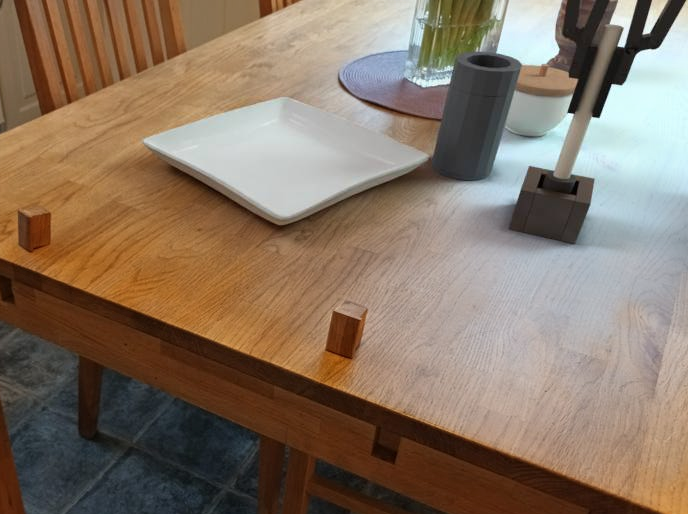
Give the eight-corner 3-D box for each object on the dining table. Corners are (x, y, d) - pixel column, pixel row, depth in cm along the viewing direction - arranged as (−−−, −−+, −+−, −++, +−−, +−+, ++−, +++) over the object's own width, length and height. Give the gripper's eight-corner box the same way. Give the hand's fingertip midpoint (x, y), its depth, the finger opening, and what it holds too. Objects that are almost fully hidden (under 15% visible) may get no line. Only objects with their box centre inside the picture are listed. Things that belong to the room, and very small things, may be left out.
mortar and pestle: (546, 58, 136) (583, -62, 124) (595, 66, 133) (638, -57, 121) (537, 75, 128) (576, -51, 116) (589, 84, 125) (634, -45, 113)
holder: (580, 216, 87) (595, 178, 84) (575, 244, 82) (590, 204, 79) (517, 203, 90) (529, 165, 86) (508, 229, 84) (520, 189, 81)
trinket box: (488, 137, 106) (506, 71, 100) (489, 112, 114) (505, 50, 108) (566, 147, 104) (589, 80, 98) (560, 120, 112) (581, 58, 106)
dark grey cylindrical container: (495, 163, 99) (525, 57, 90) (485, 185, 93) (516, 75, 85) (438, 151, 101) (462, 48, 93) (425, 172, 96) (450, 64, 87)
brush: (560, 220, 86) (632, 25, 72) (557, 231, 84) (631, 32, 70) (532, 214, 87) (598, 20, 74) (528, 225, 85) (595, 28, 71)
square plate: (138, 164, 96) (137, 136, 94) (283, 118, 110) (285, 92, 108) (279, 245, 81) (282, 214, 78) (428, 179, 94) (435, 151, 92)
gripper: (584, -160, 62) (507, 110, 77) (783, -150, 57) (660, 136, 72) (590, -164, 67) (517, 89, 82) (773, -156, 63) (660, 112, 77)
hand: (584, 111), depth 77 cm, fingers closed on brush, 2 cm apart
